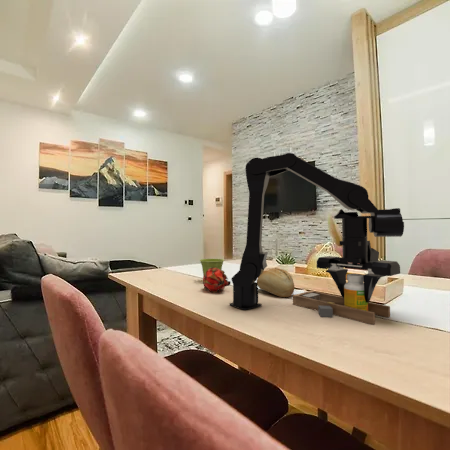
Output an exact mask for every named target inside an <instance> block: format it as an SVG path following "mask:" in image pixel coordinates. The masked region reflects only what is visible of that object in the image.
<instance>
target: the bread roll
mask: <svg viewBox="0 0 450 450" xmlns="http://www.w3.org/2000/svg"><path fill="white" fill-rule="evenodd" d="M256 283H257V287H258V289H260V290H263V291H265V292H267V293H270V294H272V295H274V296H277V297H280V298H285V297H286V298H290V297H291V296H293V295H294V293H295V289H296V288H295V281H294V279H293V277H292V275H291V274H290V272H289V271H287V270H285V269H282V268H269V269H264V271H263V273H262V274H261V275H260V276H259V277H258V278H257V280H256Z"/></svg>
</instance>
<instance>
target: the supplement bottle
mask: <svg viewBox="0 0 450 450" xmlns="http://www.w3.org/2000/svg"><path fill="white" fill-rule="evenodd" d="M363 275H364V274H360V273H347V274H346V281H347V282H346V283H345V285H344V306H347V307H352V308H356V309H361V310H365V311H368V303H367V302H366V301H365V294H364V278H363Z"/></svg>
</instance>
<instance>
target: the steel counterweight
mask: <svg viewBox="0 0 450 450" xmlns="http://www.w3.org/2000/svg"><path fill="white" fill-rule="evenodd" d="M302 296H303V297H308V298H312V299H316V300H320V294H315V293H310V294H306V295H302Z"/></svg>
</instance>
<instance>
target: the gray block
mask: <svg viewBox="0 0 450 450" xmlns="http://www.w3.org/2000/svg"><path fill="white" fill-rule="evenodd" d="M317 312H318V315H319V316H320V317H321V318H333V317H334V315H333V309H332V308H331V306H320V305H318V311H317Z"/></svg>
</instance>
